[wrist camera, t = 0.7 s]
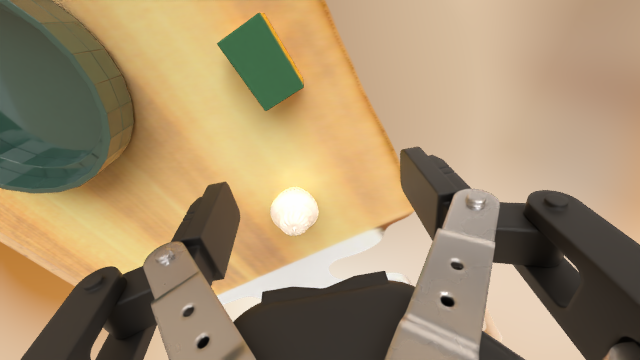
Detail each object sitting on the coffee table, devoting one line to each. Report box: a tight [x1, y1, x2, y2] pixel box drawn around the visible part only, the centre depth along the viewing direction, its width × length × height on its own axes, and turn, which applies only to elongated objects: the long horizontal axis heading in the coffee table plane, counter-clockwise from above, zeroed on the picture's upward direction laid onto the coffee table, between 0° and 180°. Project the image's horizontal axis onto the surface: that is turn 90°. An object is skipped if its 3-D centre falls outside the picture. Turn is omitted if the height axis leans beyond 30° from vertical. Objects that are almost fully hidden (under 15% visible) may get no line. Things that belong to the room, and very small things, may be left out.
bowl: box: [0, 0, 134, 193], centre depth 25 cm, size 19×19×5 cm
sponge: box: [217, 13, 304, 111], centre depth 26 cm, size 7×4×4 cm, turn 30°
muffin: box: [270, 187, 319, 236], centre depth 34 cm, size 6×6×7 cm
